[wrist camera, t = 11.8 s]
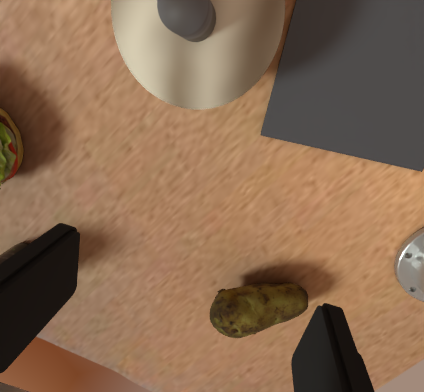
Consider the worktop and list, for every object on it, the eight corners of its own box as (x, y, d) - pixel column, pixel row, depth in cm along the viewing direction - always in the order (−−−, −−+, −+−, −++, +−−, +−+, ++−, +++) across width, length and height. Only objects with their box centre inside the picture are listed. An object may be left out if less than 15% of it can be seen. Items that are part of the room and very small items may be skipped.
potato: (291, 320, 45) (298, 368, 37) (210, 298, 45) (202, 341, 38) (310, 278, 41) (322, 322, 34) (222, 255, 42) (216, 293, 34)
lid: (307, -71, 22) (325, -120, 17) (258, 122, 28) (260, 133, 23) (121, -106, 23) (80, -163, 18) (112, 91, 29) (79, 94, 23)
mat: (520, -25, 26) (524, -27, 26) (419, 170, 34) (422, 171, 33) (313, -65, 27) (314, -68, 27) (260, 134, 35) (260, 135, 34)
